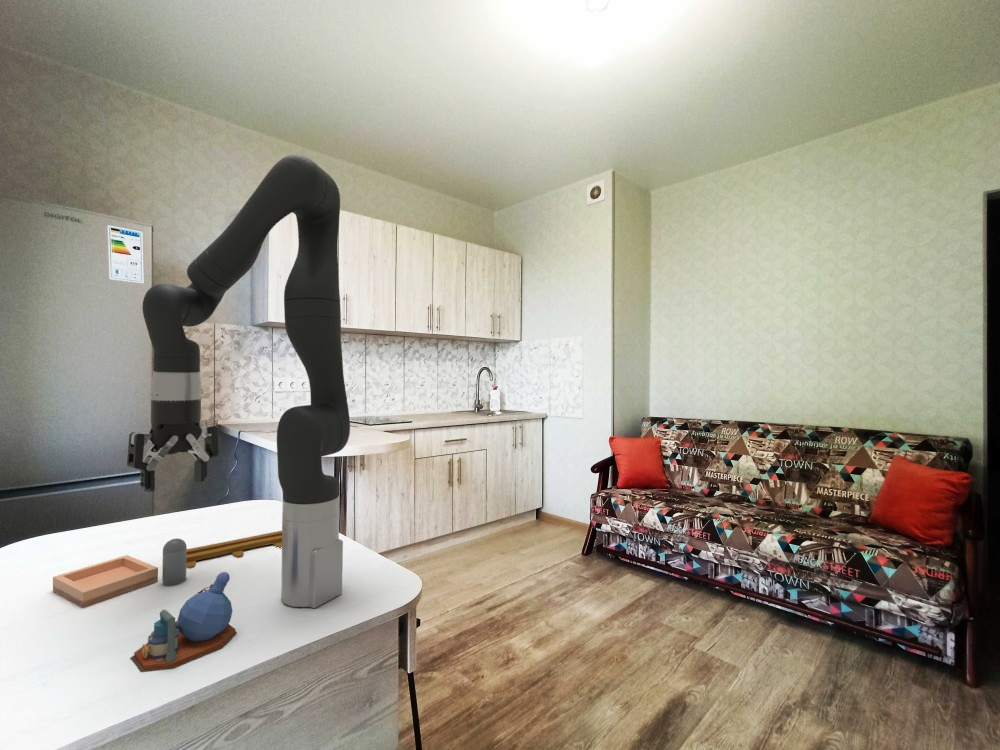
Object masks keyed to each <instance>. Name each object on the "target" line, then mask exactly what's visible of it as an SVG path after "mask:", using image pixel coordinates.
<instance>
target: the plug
mask: <svg viewBox="0 0 1000 750" xmlns="http://www.w3.org/2000/svg"><path fill="white" fill-rule="evenodd" d="M187 549H188V548H187V543H186V541H184V540H183V539H182V538H178V537H177V538H172V539H170V540H168V541H167V542H166V543H165V544H164V545H163V547H162V573H161V575H162V577H161V579H162V580H161V581H162V583H161V585H162V586H165V587H171V586H172V587H173V586H177V585H181V584H183V583H184V582H186V580H187V568H186V556H187Z"/></svg>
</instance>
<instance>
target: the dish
mask: <svg viewBox="0 0 1000 750" xmlns="http://www.w3.org/2000/svg"><path fill="white" fill-rule="evenodd" d="M157 582H159V567H157V566H154V565H152V564H150V563H149V562H148V563H147V562H145V561H143V560H140V559H138V558H136V557H133V556H130V555H127V554H125V555H123V556H119V557H116V558H111V559H109V560H105V561H102V562H98V563H95V564H91V565H88V566H85V567H82V568H78V569H75V570H72V571H67V572H65V573H62V574H57V575H54V576H52V592H53V591H54V593H55V592H56V593H55V594H57V593H58V594H57V595H59V596H61V597H62V596H63V598H65V599H66V600H68V601H69V602H72V603H74V605H75V604H76V605H77V606H79V607H81V608H86V607H90V606H92V605H95V604H98V603H101V602H103V601H106V600H109V599H112V598H114V597H118V596H120V595H123V594H126V593H129V592H131V591H134V590H137V589H140V588H143V587H146V586H148V585H151V584H154V583H157Z"/></svg>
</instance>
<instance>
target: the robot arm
mask: <svg viewBox="0 0 1000 750" xmlns="http://www.w3.org/2000/svg"><path fill="white" fill-rule="evenodd" d="M340 195H341V194H340V190H339V187H338V185H337V183H336V182H335V180H334V179H333V177H331V175H330V174H329V173H327V172H326V171H325V170H324V169H323V168H321V167H320V166H319V165H318V164H317V163H316V162H314V161H313V160H312V159H311V158H309V157H307V156H306V155H303V154H302V155H301V154H295V153H294V154H289V155H286V156H284V157H283V158H281V159H280V160H278V161H277V162H276V163H275V164H274V166H272V167H271V168H270V170H269V171H268V172H267V174H266V175H265V176H264V178H263V179H262V180H261V182H260V183H259V185H258V186H257V188H255V190H254V191H253V193H252V194H251V195H250V197H249V198H248V200H246V201H245V204H244V205H243V207H242V208H241V209H240V211H239V212H238V213H237V214H236V216H235V217H234V219H232V221H231V223H230V224H229V225H228V226H227V227H226V228H225V229H224V231H223V232H222V233H221V234H220V235H219V236H218V237H217V238H216V239H215V240H213V242H211V243H210V244H209V245H208V246H207V247H206V248H205V249H204V250H203V251H202V252H201V253H199V254H198V255H197V257H196V258H194V259H193V260H192V261H191V263H190V264H189V265H188V267H187V268H186V275H187V277H188V280H189V281H190V282H191V283H190V285H188V286H186V287H182V286H178V285H173V284H168V283H157V284H154V285H153V286H151V287H150V288H149V289H148V290H147V291H146V292H145V294H144V297H143V300H142V314H143V319H144V323H145V326H146V329H147V333H148V336H149V339H150V343H151V345H152V346H151V347H152V348H153V355H152V356H153V359H152V360H153V361H152V362H153V364H152V367H153V368H152V378H151V384H150V394H149V395H150V425H151V426H150V427H151V428H150V430H149V432H130V434H129V435H128V446H127V447H128V448H127V458H126V466H127V467H128V468H132V469H137V470H139V472H140V473H139V474H140V477H139V478H140V479H139V480H140V481H139V486H140V487H141V488H140V489H143V490H144V492H148V493H151V492H154V491H155V489H156V488H155V487H156V486H155V485H156V481H155V480H156V470H154V468H156V466H157V465H158V463H159V462H160V461H162V460H164V458H165V456H167V455H175V454H177V453H190V455H192V456H193V457H194V458H195V460H196V461H194V468H193V471H194V472H193V473H194V475H193V476H194V477H193V478H194V481H195V482H197V483H203V482H205V481H206V480H205V479H206V478H207V477H208V462H209V461H210V459H212V458H216V457H218V456H219V453H220V452H219V432H218V426H217V425H210V424H206V425H204V426H201V424H200V423H201V420H202V415H201V414H202V381H201V351H200V350H201V348H200V345H199V344H198V343H197V341H194V340H192V339H189V338H188V337H187V336H186V333H185V332H186V331H185V328H184V327H190V328H191V327H197V326H200V325H201V324H203V323H205V322H206V321H207V320H208V319H210V318H211V316H212V315H213V314H214V312H215V311H216V309H217V307H218V306H219V304H220V302H221V301H222V300H223V298H224V296H225V293H226V292H227V291H228V290H229V289H231V288H232V287H233V286H234V285H235V284H236V283H237V282H238V281H240V280H241V279H242V278H243V277H244V276H246V274H247V273H248V272H249V271H250V270H251V269H252V267H253V266H254V264H255V263H256V261H257V259H258V257H259V254H260V252H261V249H262V247H263V244H264V242H265V239H266V238H267V236H268V234H269V233H270V232H271V230H272V229H273V228H274V227H275V226H276V225H277V224H278V223H279V222H280V221H282V220H283V219H284V218H286V217H287V216H289V215H290V214H292V213H293V214H294V215H295V217H296V223H297V224H296V225H297V236H298V237H297V238H298V248H297V254H296V258H295V261H294V264H293V266H292V268H291V270H290V272H289V275H288V278H287V280H286V281H285V286H284V291H283V304H284V305H283V306H284V326H285V332H286V335H287V338H288V340H289V342H290V343H291V345H292V347H293V349H294V351H295V352H296V354H297V356H298V358H299V360H300V361H301V363H302V365H303V367H304V369H305V371H306V374H307V378H308V383H309V391H310V404H307V405H297V406H293V407H290V408H288V409H287V410H285V411H284V413H283V414H282V415H281V417H280V418H279V421H278V424H277V429H276V430H277V431H276V453H277V454H276V455H277V475H278V476H277V478H278V482H279V485H280V488H281V491H282V519H281V523H282V525H281V529H282V530H281V531H282V548H281V589H280V590H281V592H280V593H281V595H280V597H281V602H282V603H283V604H285V605H287V606H290V607H293V608H294V607H295V608H306V607H307V608H312V609H316V608H318V607H320V606H321V605H323V604H325V603H327V602H329V601H330V600H333V599H334V598H336V597H338V596H340V595H342V594H343V557H344V556H343V554H344V553H343V552H344V551H343V549H344V541H343V540H342V539H340V538H339V537H340V535H339V533H340V532H339V531H340V493H341V492H340V491H341V490H340V489H341V485H340V480H339V479H338V478H337V477H336V476H333V475H329V474H325V473H324V471H323V462H322V457H325V456H329V455H334V454H336V453H339V452H341V451H343V449H344V448H345V447H346V445H347V444H348V442H349V437H350V434H351V420H350V412H349V404H348V397H347V390H346V385H345V376H344V375H345V374H344V365H343V363H344V362H343V348H342V336H341V335H342V312H341V296H340V293H341V292H340V277H339V275H340V274H339V272H340V271H339V254H338V253H339V252H338V251H339V250H338V247H339V246H338V241H339V240H338V239H339V228H340V227H339V226H340V213H341V212H340V211H341V210H340V209H341V196H340ZM201 435H202V437H203V438H204V447H203V445H201V444H200V443H199V442H198V440H199V438H200V437H201ZM148 441H150V442H151V444H152V445H151V446H150V448H149V449H148V450H147V452H146V454H145V456H144V449H145V446H146V445H147V444H148Z"/></svg>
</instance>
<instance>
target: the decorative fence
mask: <svg viewBox="0 0 1000 750" xmlns="http://www.w3.org/2000/svg"><path fill="white" fill-rule="evenodd" d="M273 544H274V545H275V546H276V547H279V548H281V547H282V530H277V531H273V532H269V533H267V532H266V533H264V534H258V535H257V534H256V535H252V536H247V537H243V538H237V539H234V540H233V539H232V540H228V541H227V540H226V541H223V542H218V543H212V544H206V545H202V546H201V545H200V546H196V547H191V548H187V556H186V569H189V570H190V569H194V568H195V567H196V565H197V561H200V560H205V559H210V558H214V557H218V556H223V555H228V554H231V553H232V554H231V555H232V557H234V558H237V559H239V558H240V559H241V558H243V556H244V554H245V553H244V551H245V550H249V549H253V548H258V547H264V546H267V545H273ZM274 545H273V546H274ZM275 546H274V547H275ZM276 547H275V548H276ZM279 548H278V549H279ZM281 549H282V548H281Z"/></svg>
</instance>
